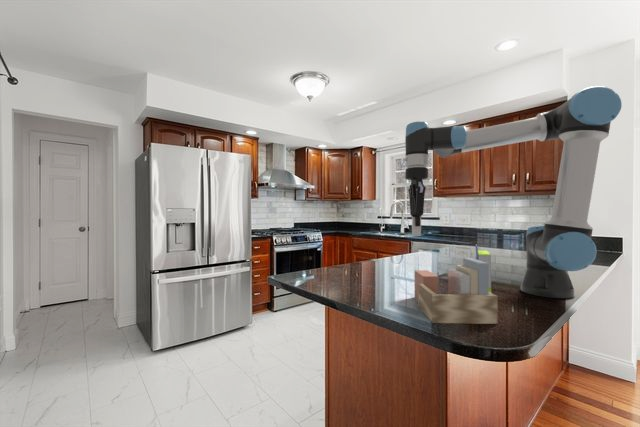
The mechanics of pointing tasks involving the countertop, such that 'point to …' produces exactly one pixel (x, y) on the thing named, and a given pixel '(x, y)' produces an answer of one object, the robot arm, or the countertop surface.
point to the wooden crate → (458, 307)
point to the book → (425, 281)
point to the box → (486, 258)
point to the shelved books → (476, 275)
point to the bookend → (458, 282)
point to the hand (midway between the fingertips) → (416, 235)
